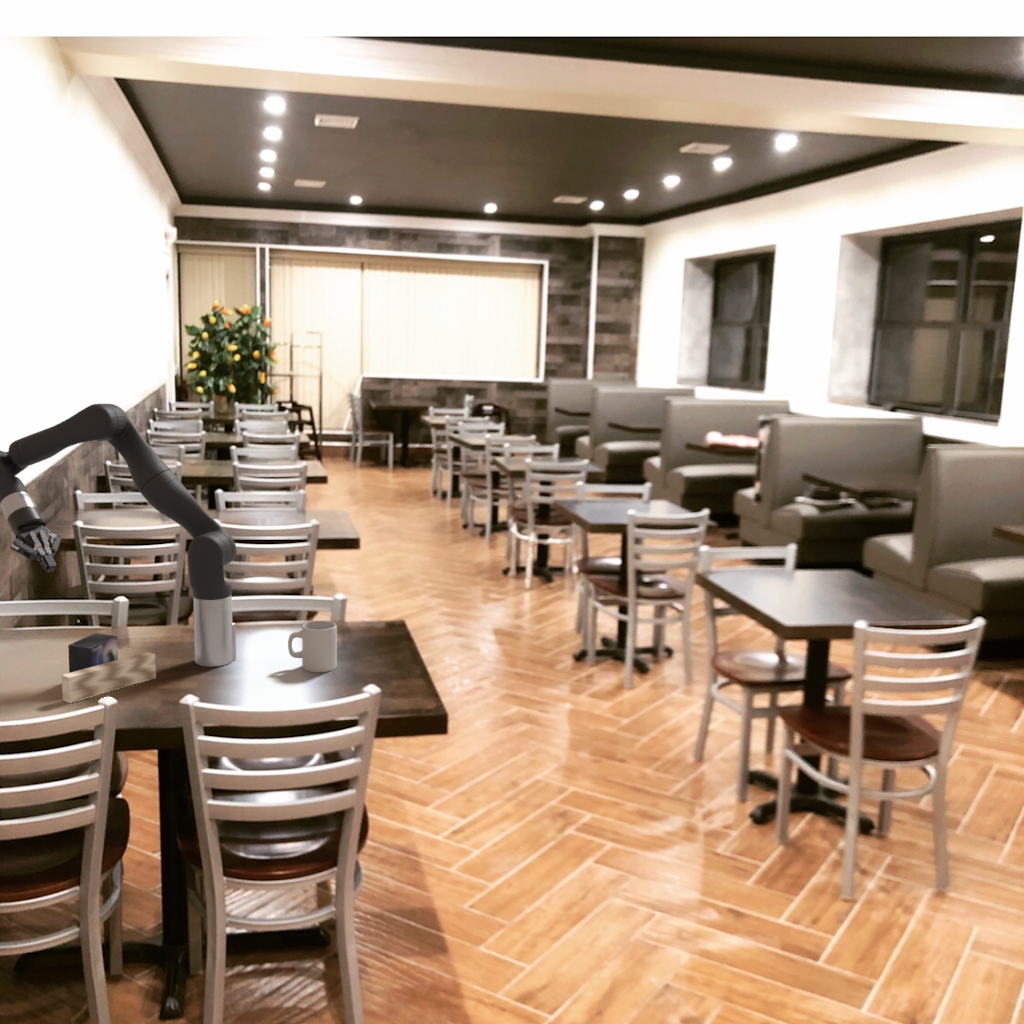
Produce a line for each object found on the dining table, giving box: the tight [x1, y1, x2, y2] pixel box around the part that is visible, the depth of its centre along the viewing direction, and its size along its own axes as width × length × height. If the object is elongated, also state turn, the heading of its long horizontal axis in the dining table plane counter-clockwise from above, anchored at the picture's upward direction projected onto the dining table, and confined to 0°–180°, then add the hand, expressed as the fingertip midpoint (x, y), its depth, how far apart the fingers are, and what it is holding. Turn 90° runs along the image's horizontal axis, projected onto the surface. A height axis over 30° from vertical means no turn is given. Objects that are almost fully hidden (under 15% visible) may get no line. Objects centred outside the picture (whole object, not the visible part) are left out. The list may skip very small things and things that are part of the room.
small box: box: [68, 632, 119, 673], centre depth 237 cm, size 11×6×10 cm, turn 168°
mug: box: [287, 620, 338, 673], centre depth 252 cm, size 12×8×11 cm
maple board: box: [61, 651, 157, 704], centre depth 233 cm, size 22×3×6 cm, turn 144°
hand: (51, 569), depth 246 cm, fingers closed
